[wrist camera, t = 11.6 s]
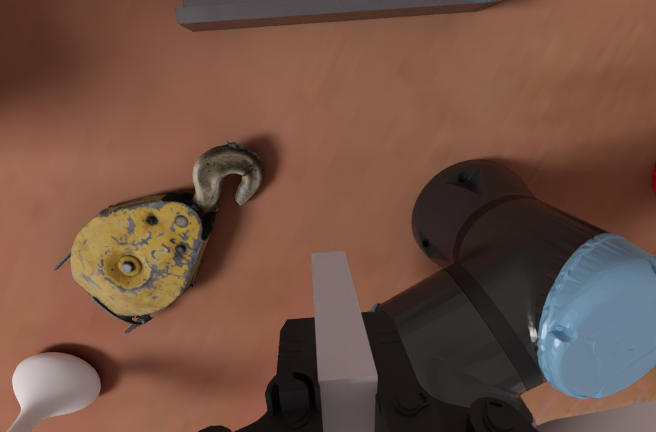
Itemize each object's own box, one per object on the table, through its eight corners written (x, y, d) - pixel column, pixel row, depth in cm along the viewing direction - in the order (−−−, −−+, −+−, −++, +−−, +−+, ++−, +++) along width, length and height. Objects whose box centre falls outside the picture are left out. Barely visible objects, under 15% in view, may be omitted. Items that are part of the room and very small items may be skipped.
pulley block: (296, 210, 33) (116, 354, 39) (301, 198, 39) (143, 326, 45) (203, 102, 31) (23, 274, 36) (223, 106, 36) (64, 255, 42)
